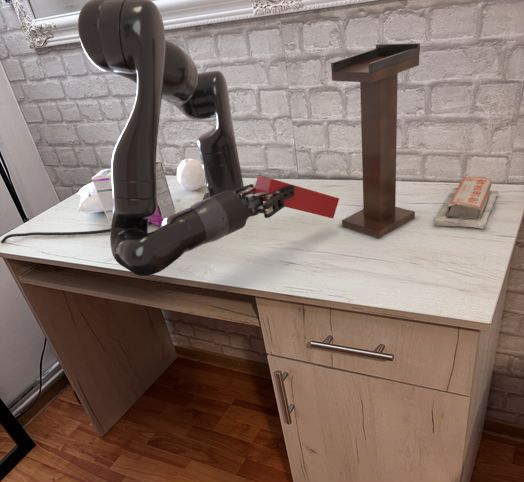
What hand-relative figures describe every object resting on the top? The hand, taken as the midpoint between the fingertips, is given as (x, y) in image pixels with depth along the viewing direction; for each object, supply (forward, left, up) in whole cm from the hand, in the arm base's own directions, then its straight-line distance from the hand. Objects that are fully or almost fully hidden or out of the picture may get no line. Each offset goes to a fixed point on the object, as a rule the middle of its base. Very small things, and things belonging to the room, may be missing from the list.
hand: (284, 187), depth 96 cm
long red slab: (+2, +1, -5) cm, 6 cm away
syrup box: (-38, +40, -14) cm, 57 cm away
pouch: (-41, +57, -14) cm, 72 cm away
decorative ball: (-17, +54, -14) cm, 59 cm away
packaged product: (+40, -2, -14) cm, 43 cm away
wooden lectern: (+21, +3, -14) cm, 26 cm away
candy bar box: (-28, +35, -14) cm, 47 cm away
